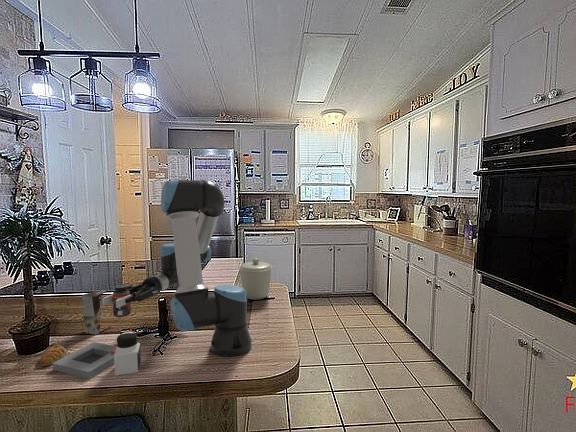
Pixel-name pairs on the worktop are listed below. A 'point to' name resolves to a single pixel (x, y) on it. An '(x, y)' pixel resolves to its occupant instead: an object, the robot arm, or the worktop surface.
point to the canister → (256, 278)
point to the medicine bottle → (127, 354)
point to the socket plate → (87, 360)
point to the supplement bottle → (118, 294)
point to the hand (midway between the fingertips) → (110, 302)
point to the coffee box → (92, 311)
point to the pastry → (52, 355)
